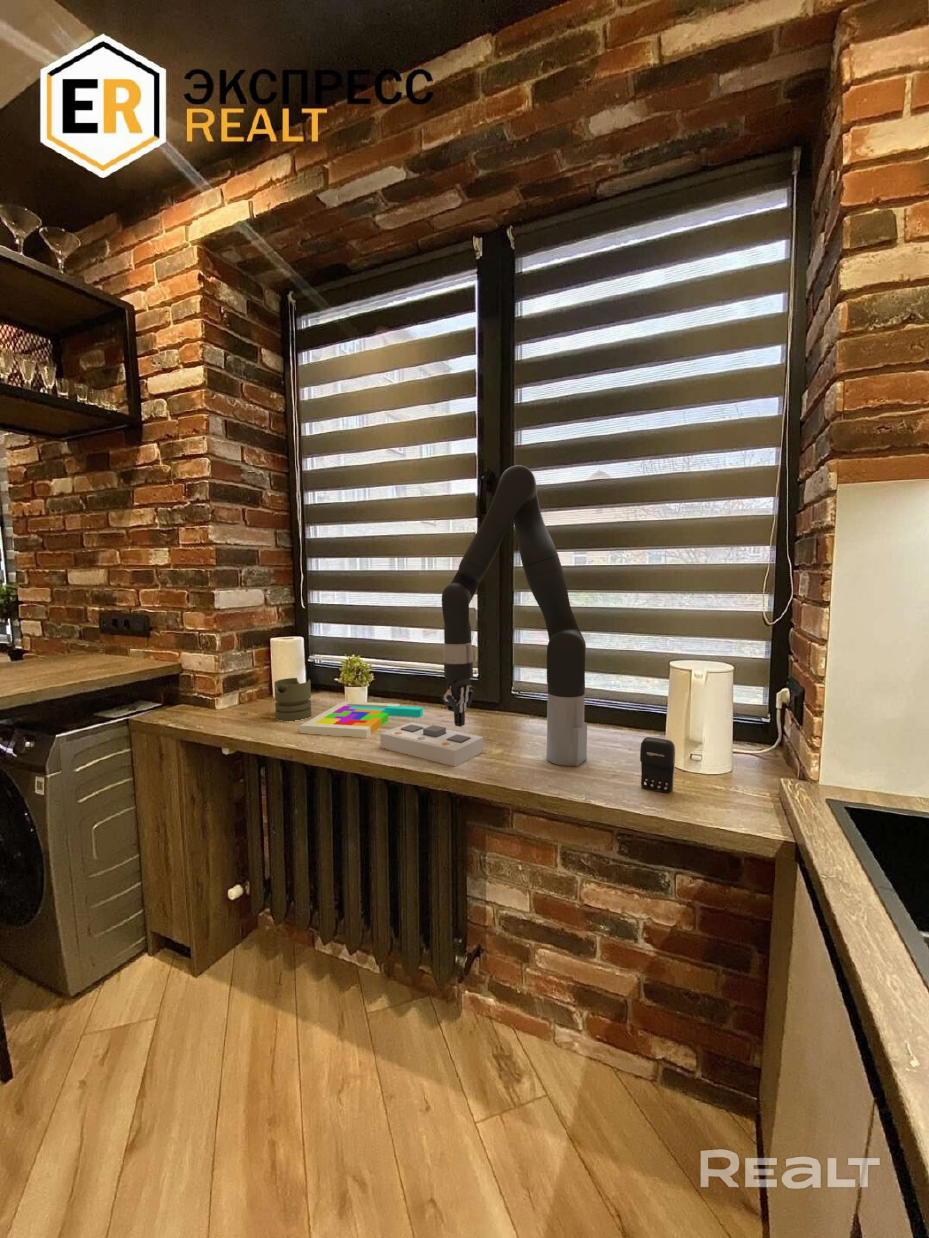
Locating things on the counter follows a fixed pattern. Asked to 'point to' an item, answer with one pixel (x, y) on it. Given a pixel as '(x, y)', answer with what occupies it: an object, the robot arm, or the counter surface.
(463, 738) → the button near
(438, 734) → the button middle
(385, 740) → the button panel
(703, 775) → the counter surface
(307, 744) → the counter surface
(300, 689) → the piston
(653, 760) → the battery charger
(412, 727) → the button far
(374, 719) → the puzzle game
